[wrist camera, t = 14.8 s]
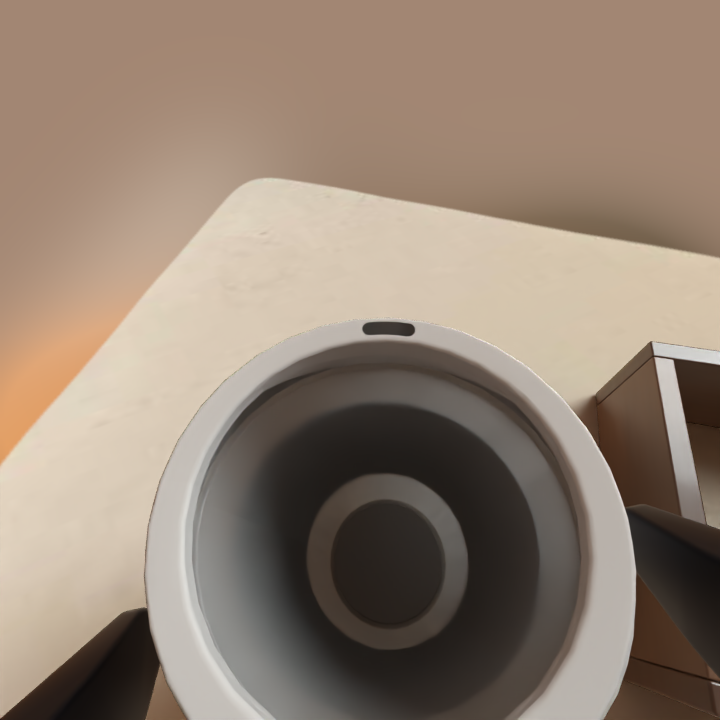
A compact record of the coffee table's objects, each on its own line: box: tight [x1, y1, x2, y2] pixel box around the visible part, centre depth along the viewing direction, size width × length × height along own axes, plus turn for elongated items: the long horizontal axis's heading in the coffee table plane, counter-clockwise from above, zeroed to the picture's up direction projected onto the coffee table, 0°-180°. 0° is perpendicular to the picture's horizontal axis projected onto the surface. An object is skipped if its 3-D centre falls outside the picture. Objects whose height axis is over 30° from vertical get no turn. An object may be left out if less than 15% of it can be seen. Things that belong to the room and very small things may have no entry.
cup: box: [144, 318, 636, 720], centre depth 10 cm, size 7×7×12 cm
